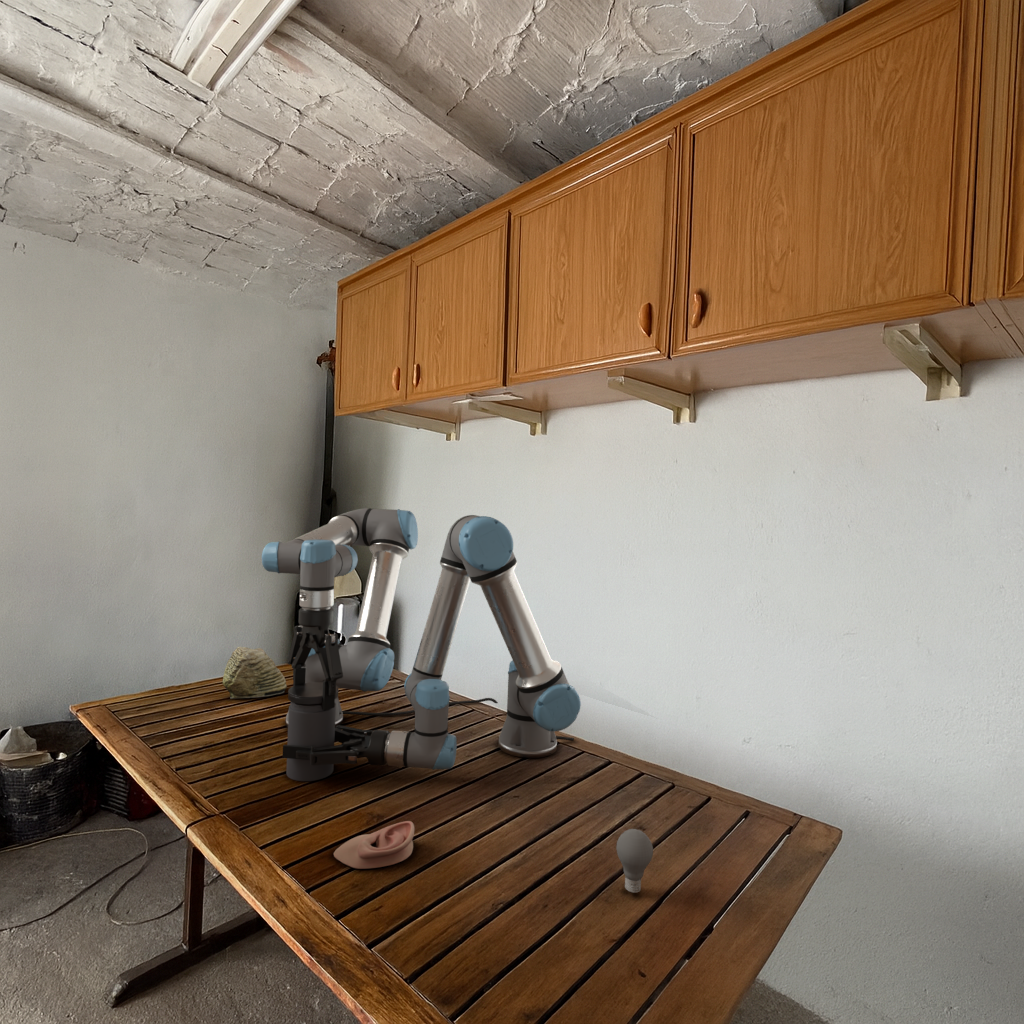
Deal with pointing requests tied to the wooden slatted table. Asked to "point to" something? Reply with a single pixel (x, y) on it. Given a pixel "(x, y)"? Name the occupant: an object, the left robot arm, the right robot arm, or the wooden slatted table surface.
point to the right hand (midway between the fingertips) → (293, 741)
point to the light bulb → (634, 857)
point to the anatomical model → (378, 847)
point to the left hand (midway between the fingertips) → (313, 702)
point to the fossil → (252, 674)
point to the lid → (308, 693)
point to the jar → (310, 738)
